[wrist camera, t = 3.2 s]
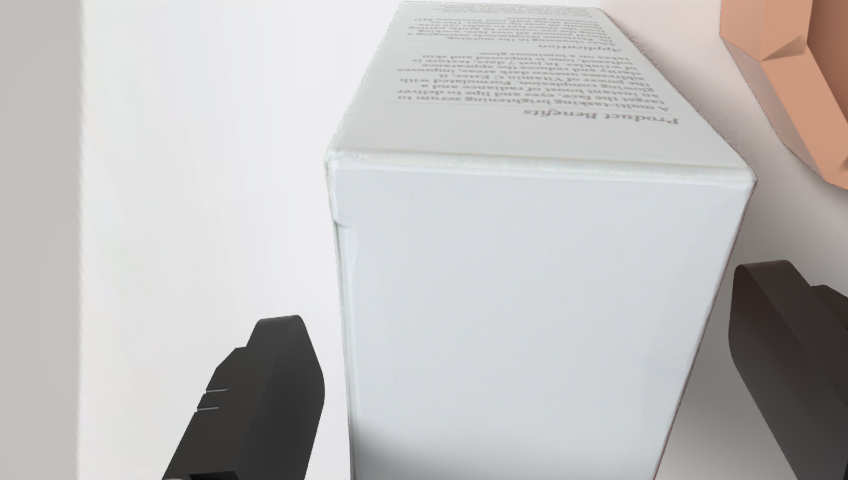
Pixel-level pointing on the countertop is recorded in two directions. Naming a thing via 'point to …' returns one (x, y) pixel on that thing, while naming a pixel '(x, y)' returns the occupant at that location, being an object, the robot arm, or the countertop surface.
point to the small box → (523, 246)
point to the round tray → (797, 73)
